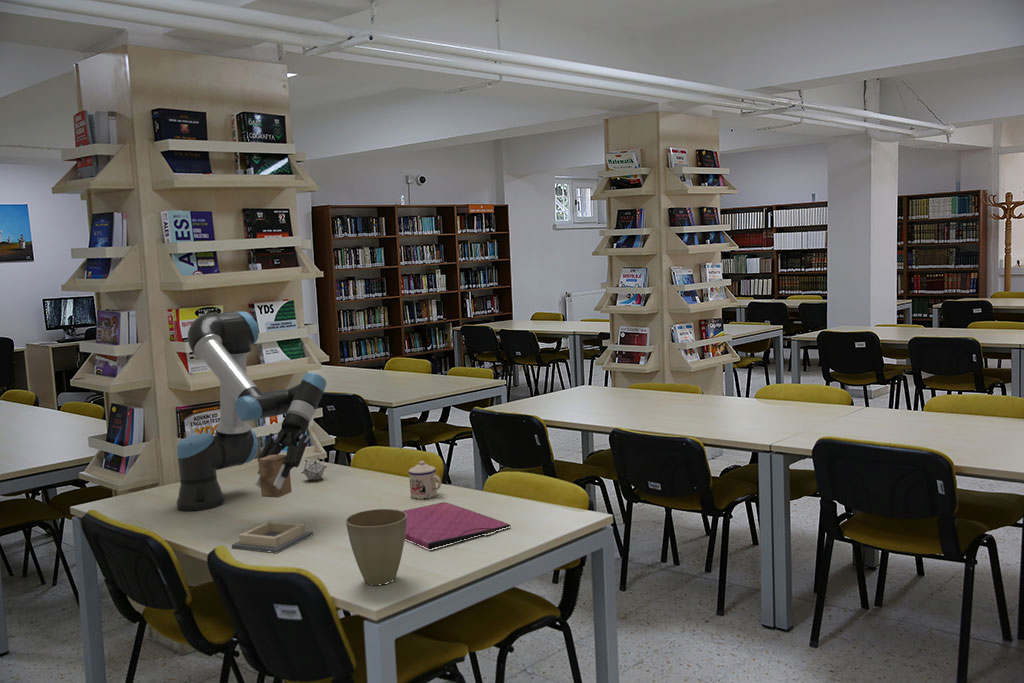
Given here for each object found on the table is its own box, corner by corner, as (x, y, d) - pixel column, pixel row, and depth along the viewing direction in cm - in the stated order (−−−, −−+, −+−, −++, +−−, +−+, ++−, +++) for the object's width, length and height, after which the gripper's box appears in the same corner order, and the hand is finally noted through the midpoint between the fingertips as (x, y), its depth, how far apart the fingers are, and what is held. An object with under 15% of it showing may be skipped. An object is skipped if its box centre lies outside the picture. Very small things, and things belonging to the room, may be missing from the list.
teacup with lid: (404, 497, 291) (402, 463, 289) (421, 491, 298) (419, 457, 297) (432, 501, 284) (430, 466, 283) (449, 494, 291) (447, 460, 290)
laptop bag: (366, 512, 264) (443, 495, 280) (367, 525, 265) (444, 508, 280) (436, 541, 232) (518, 520, 248) (436, 556, 232) (518, 534, 248)
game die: (319, 490, 321) (322, 472, 315) (297, 483, 321) (299, 465, 315) (327, 473, 328) (330, 455, 322) (305, 466, 328) (308, 448, 322)
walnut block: (261, 496, 253) (258, 459, 252) (275, 491, 259) (271, 454, 258) (278, 497, 251) (274, 460, 250) (291, 492, 256) (288, 455, 255)
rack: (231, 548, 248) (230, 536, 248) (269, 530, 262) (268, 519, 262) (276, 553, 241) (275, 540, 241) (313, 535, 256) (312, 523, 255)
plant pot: (376, 596, 206) (371, 530, 204) (337, 583, 216) (333, 520, 214) (423, 577, 217) (419, 514, 215) (384, 565, 227) (380, 505, 225)
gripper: (329, 426, 263) (301, 494, 250) (279, 425, 271) (248, 491, 258) (317, 412, 258) (287, 481, 245) (266, 411, 266) (234, 478, 252)
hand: (267, 486), depth 251 cm, fingers closed on walnut block, 6 cm apart
